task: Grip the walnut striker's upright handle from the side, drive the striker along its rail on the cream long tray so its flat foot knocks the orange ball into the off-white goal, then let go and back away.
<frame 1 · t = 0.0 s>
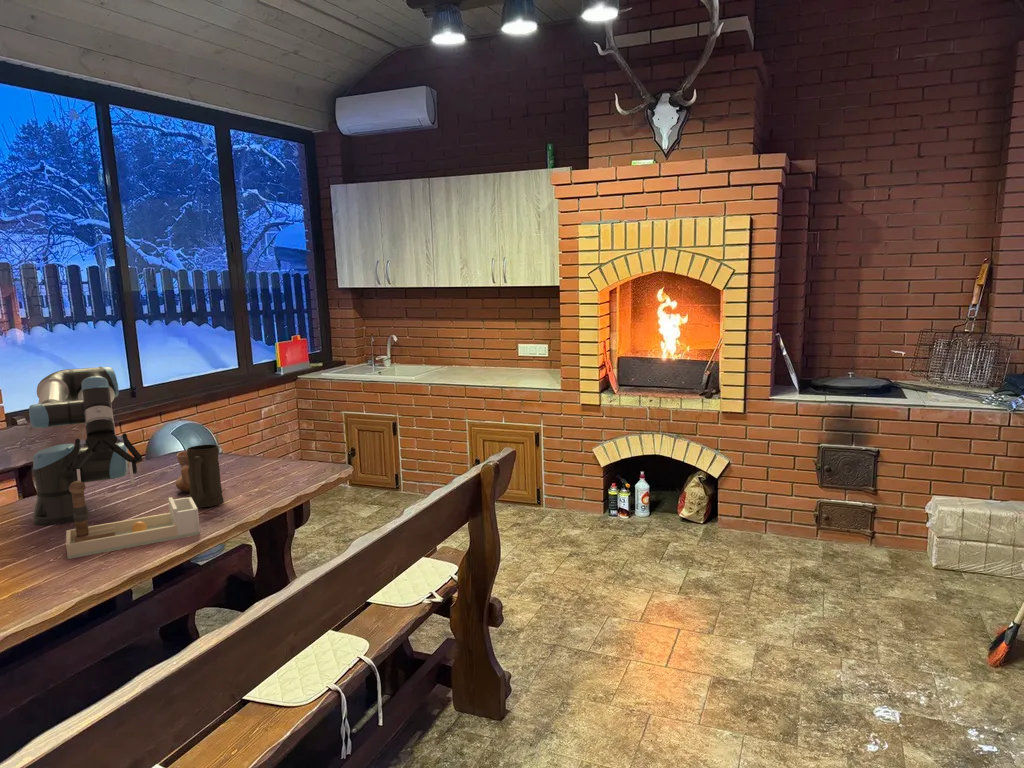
hand: (107, 487, 211), 15 cm above the table, tool tilted 35°, fingers open, 13 cm apart
striker: (92, 510, 205), point 11 cm above the table, slide at 0.0 cm
ceramic jug: (197, 490, 259), on the table
cream long tray: (134, 538, 212), on the table
ball: (139, 528, 212), point 3 cm above the table, touching cream long tray
beer stein: (206, 506, 241), on the table
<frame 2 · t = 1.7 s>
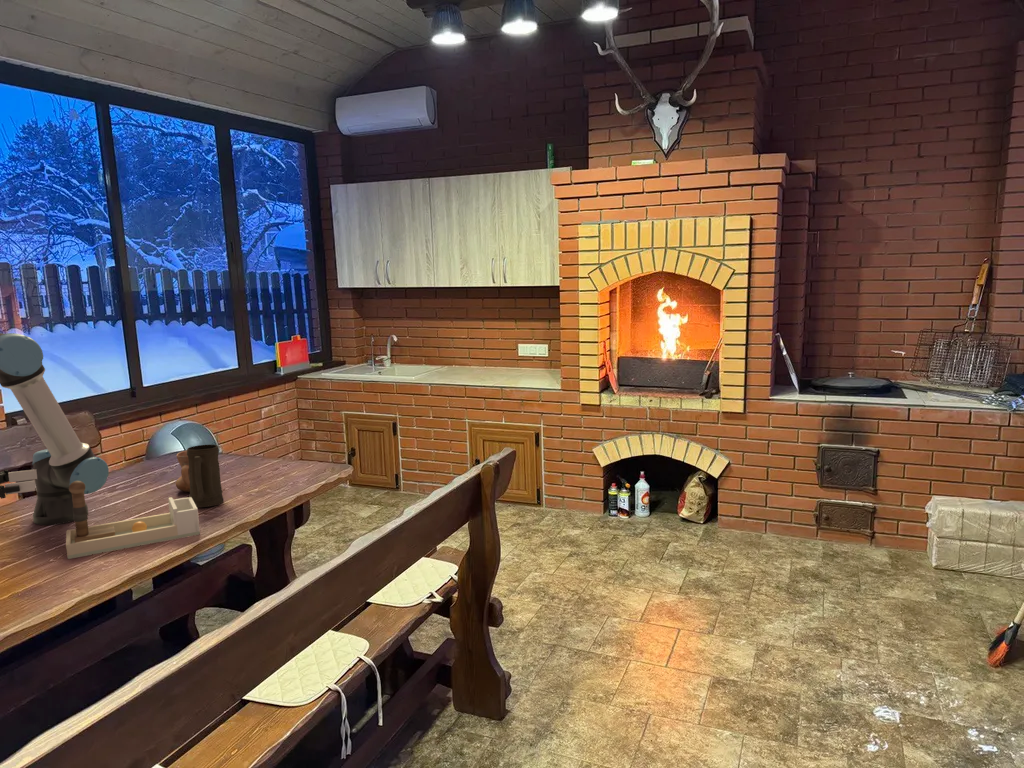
hand: (36, 479, 197), 22 cm above the table, tool horizontal, fingers open, 13 cm apart
nothing on the table moved.
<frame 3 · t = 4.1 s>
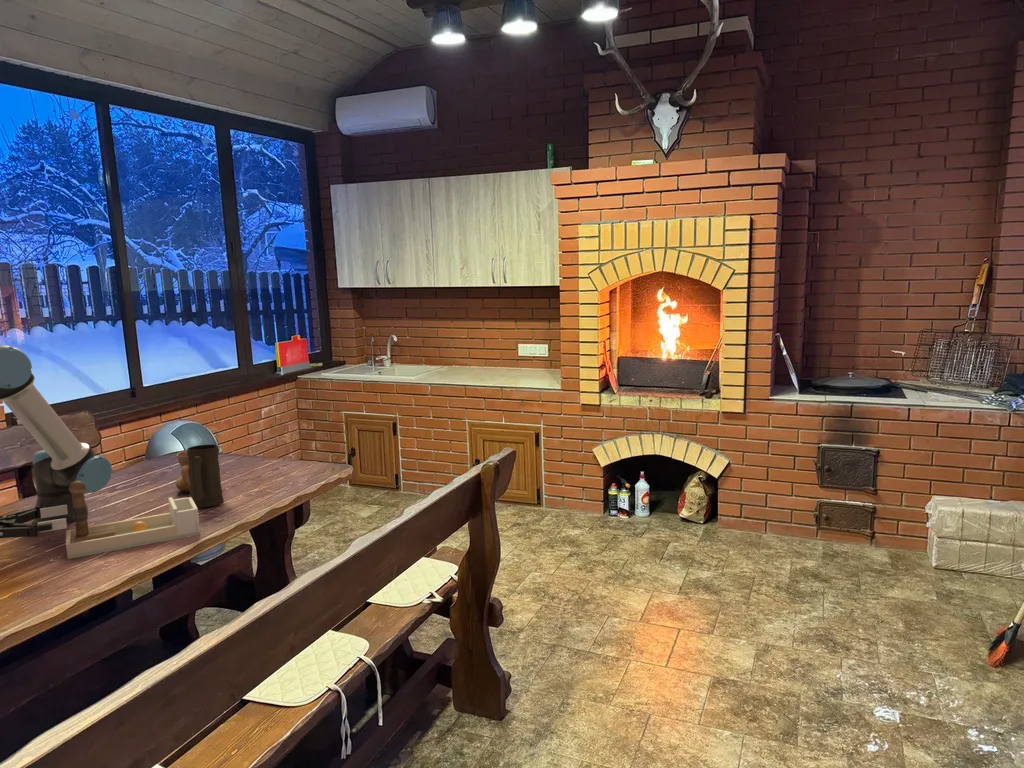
hand: (67, 516, 201), 10 cm above the table, tool horizontal, fingers open, 13 cm apart
nothing on the table moved.
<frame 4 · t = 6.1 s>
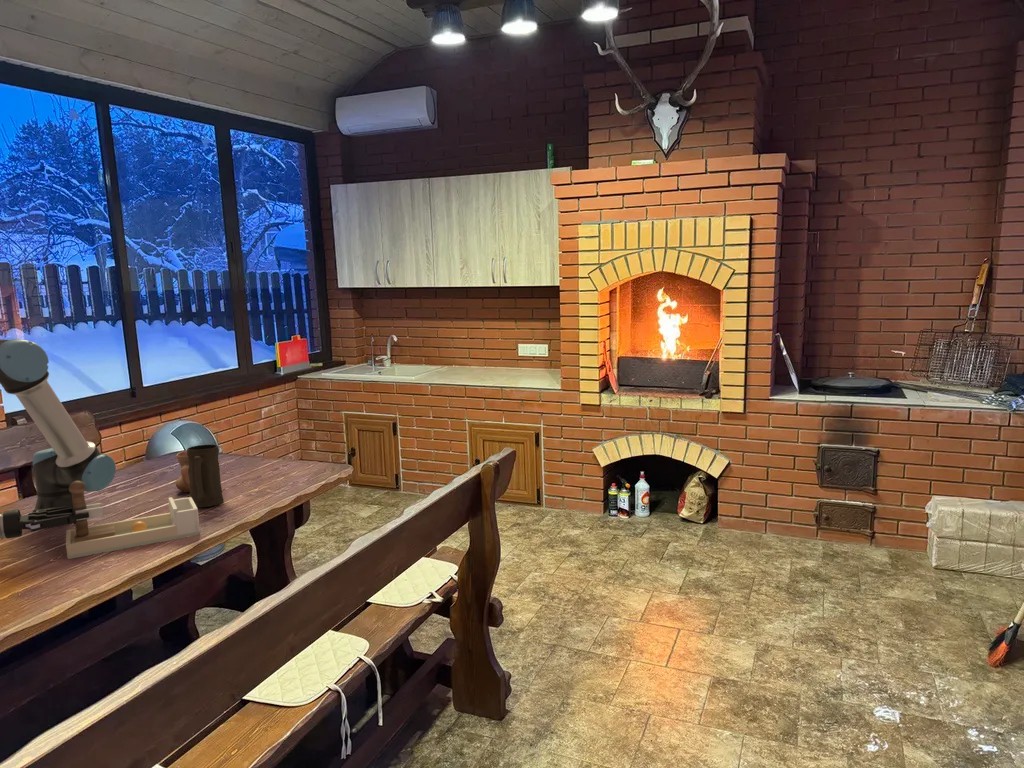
hand: (101, 509, 206), 10 cm above the table, tool horizontal, fingers closed on striker, 3 cm apart
striker: (92, 510, 205), point 11 cm above the table, slide at 0.0 cm, touching gripper
everything else where it was.
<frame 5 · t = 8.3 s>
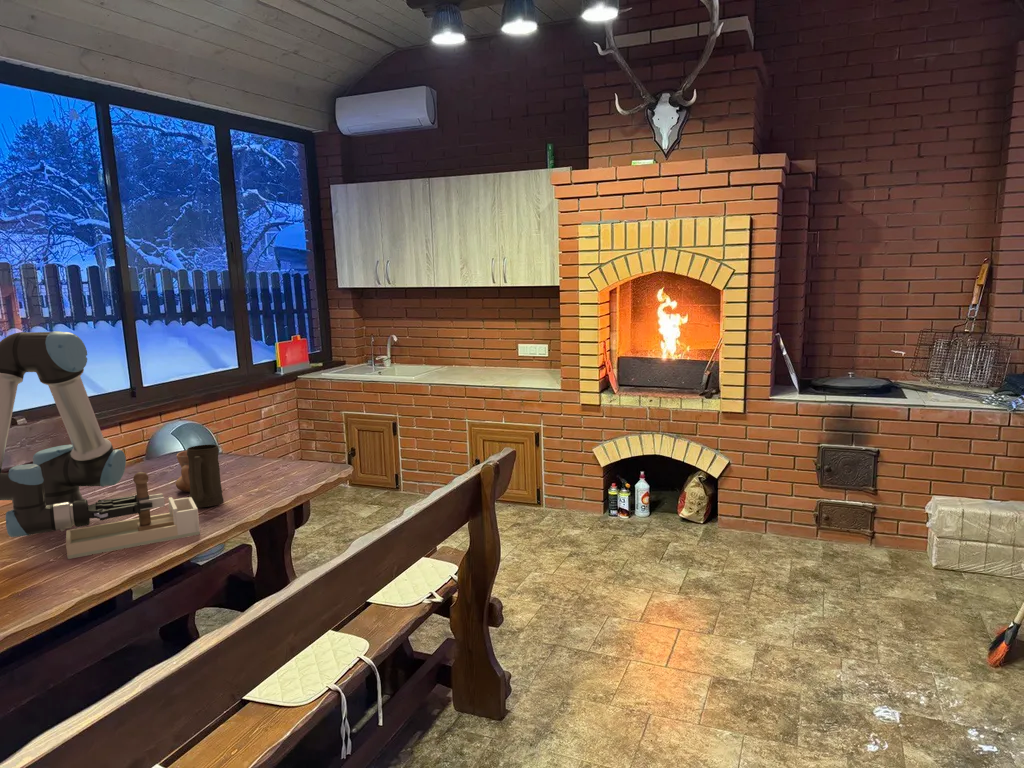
hand: (163, 499, 214), 11 cm above the table, tool horizontal, fingers closed on striker, 3 cm apart
striker: (154, 500, 213), point 11 cm above the table, slide at 16.2 cm, touching gripper
ball: (184, 520, 218), point 3 cm above the table, tilted 17°, touching cream long tray
everything else where it was.
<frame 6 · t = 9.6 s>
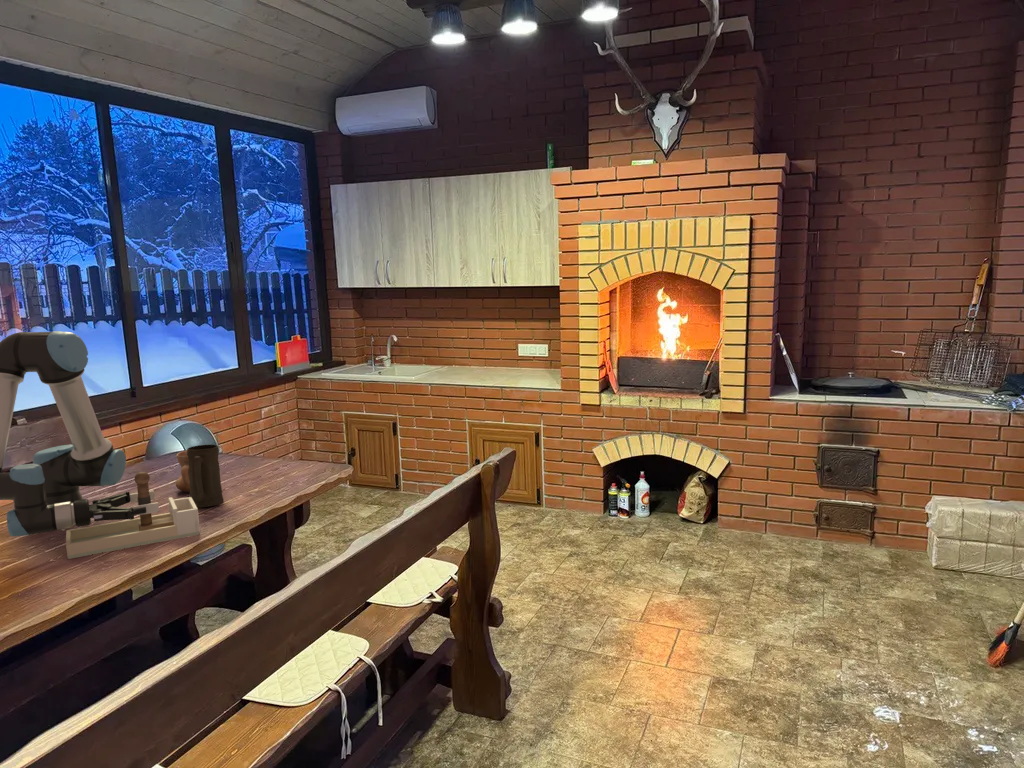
hand: (156, 500, 213), 11 cm above the table, tool horizontal, fingers open, 13 cm apart
striker: (155, 500, 213), point 11 cm above the table, slide at 16.5 cm
ball: (185, 520, 218), point 3 cm above the table, tilted 10°, touching cream long tray
everything else where it was.
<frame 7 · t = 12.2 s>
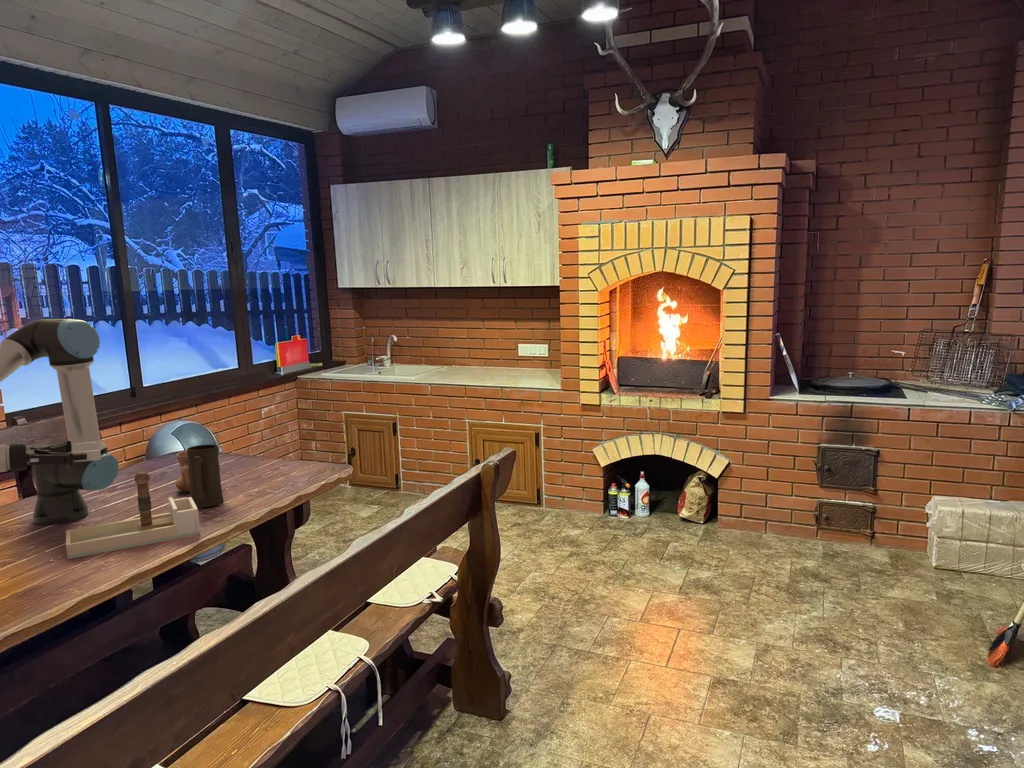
hand: (99, 450, 205), 28 cm above the table, tool horizontal, fingers open, 13 cm apart
ball: (184, 520, 218), point 3 cm above the table, tilted 17°, touching cream long tray
everything else where it was.
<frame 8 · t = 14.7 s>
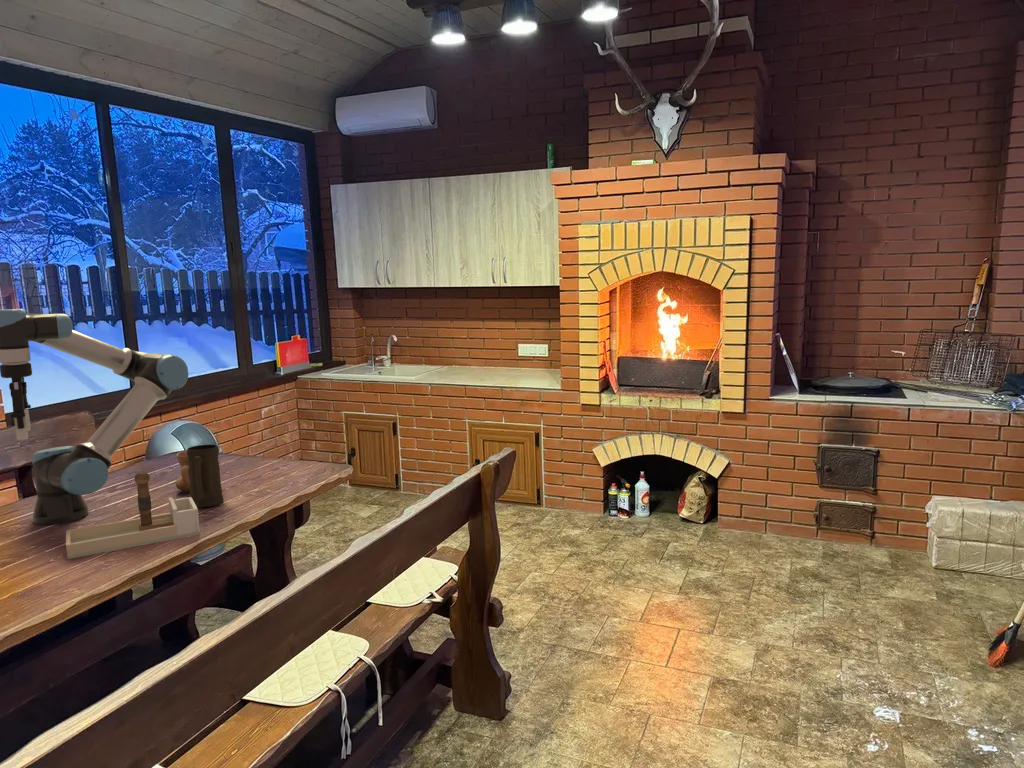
hand: (24, 435, 208), 32 cm above the table, tool pointing down, fingers open, 13 cm apart
ball: (183, 520, 218), point 3 cm above the table, tilted 23°, touching cream long tray
everything else where it was.
at the end: ball inside the target area on the cream long tray (0.0 cm from its centre), point 3.0 cm above the cream long tray's base; striker slide at 16.5 cm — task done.
